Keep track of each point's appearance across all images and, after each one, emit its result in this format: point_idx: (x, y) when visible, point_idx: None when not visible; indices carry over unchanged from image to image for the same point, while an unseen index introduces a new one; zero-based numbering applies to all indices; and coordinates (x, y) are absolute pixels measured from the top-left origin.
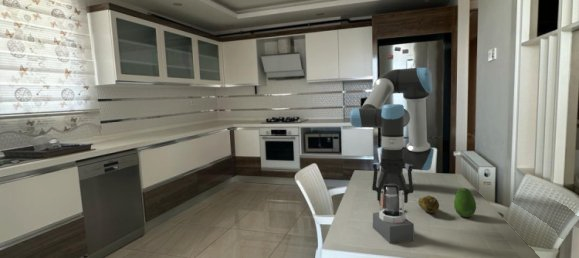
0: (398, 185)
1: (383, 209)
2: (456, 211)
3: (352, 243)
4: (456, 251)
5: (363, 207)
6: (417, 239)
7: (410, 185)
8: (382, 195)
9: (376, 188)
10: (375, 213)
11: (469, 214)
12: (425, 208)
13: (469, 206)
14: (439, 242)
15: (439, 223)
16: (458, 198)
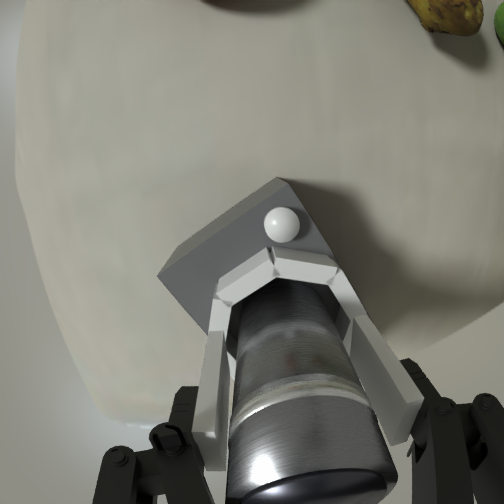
0: (397, 476)
1: (223, 298)
2: (502, 35)
3: (151, 391)
4: (459, 325)
5: (94, 13)
6: (373, 293)
7: (479, 480)
8: (224, 454)
9: (160, 491)
10: (173, 279)
11: None
12: (421, 18)
13: None
14: (437, 287)
15: (455, 103)
16: None
